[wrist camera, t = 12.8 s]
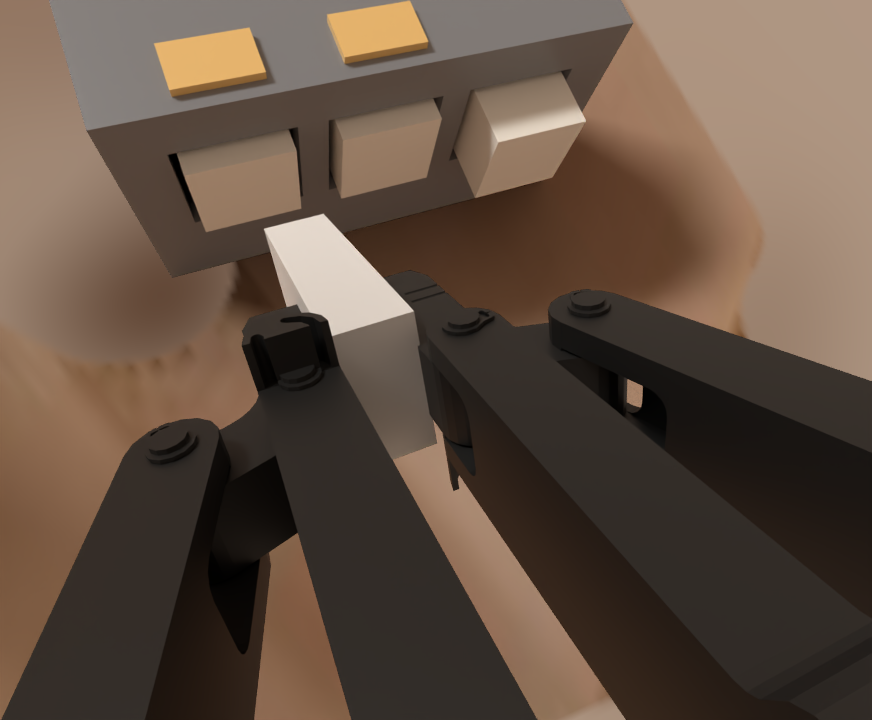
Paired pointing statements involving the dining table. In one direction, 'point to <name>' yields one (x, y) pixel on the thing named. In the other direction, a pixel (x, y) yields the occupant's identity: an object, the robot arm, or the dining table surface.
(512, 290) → the dining table surface
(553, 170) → the key
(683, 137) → the dining table surface
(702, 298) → the dining table surface
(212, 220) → the key
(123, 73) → the keypad
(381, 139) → the key middle
